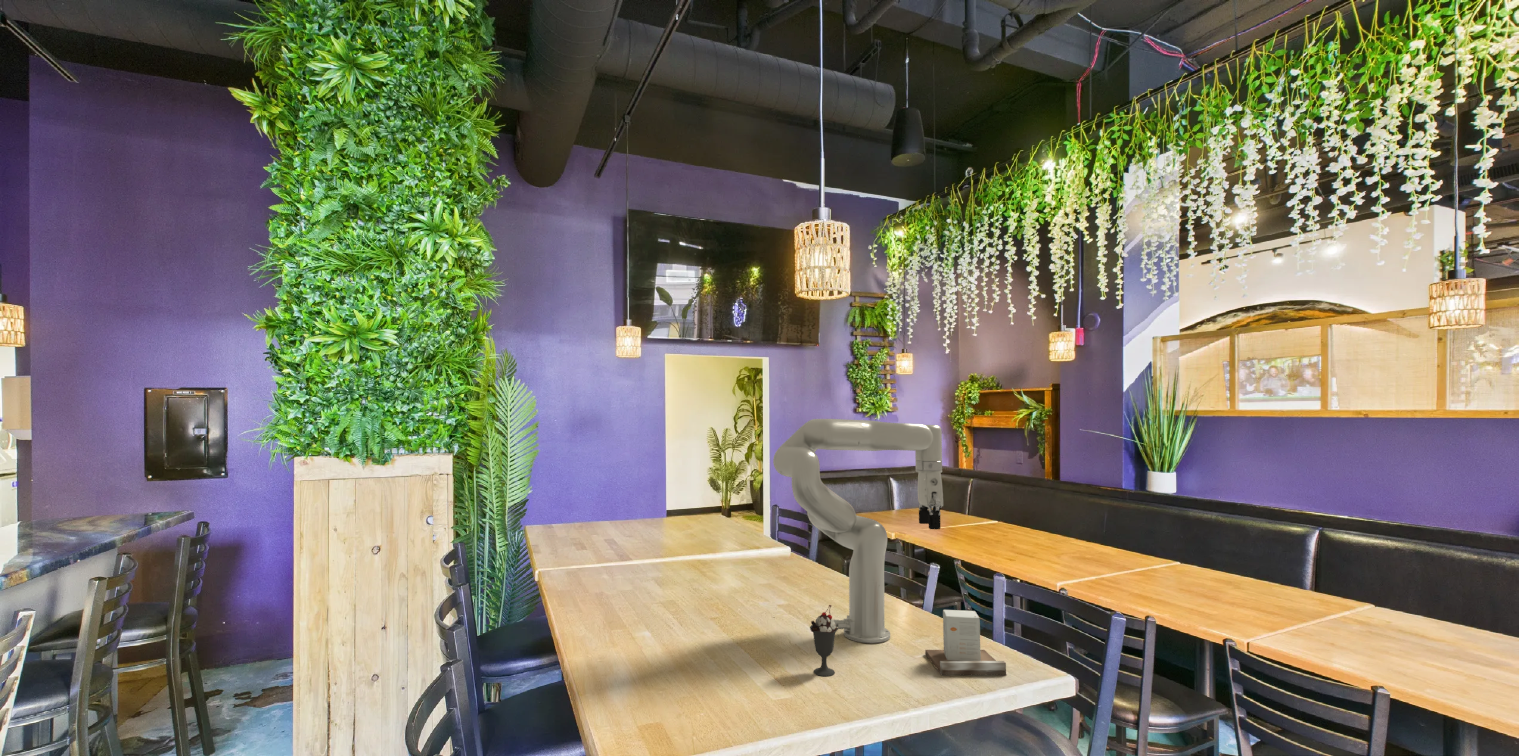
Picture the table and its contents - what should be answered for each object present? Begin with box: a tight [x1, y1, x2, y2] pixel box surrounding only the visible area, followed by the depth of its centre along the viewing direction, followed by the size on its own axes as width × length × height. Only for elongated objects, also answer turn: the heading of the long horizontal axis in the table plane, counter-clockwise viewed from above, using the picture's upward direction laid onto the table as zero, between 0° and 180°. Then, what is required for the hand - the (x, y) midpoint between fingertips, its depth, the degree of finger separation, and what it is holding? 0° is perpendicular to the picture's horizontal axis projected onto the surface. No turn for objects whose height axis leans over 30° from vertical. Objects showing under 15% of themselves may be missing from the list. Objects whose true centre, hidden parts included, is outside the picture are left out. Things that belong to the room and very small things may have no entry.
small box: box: [942, 609, 981, 661], centre depth 152 cm, size 8×6×10 cm
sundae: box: [809, 604, 839, 677], centre depth 145 cm, size 7×7×15 cm
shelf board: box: [924, 649, 1007, 676], centre depth 150 cm, size 15×13×3 cm
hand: (929, 526), depth 181 cm, fingers open, 9 cm apart
